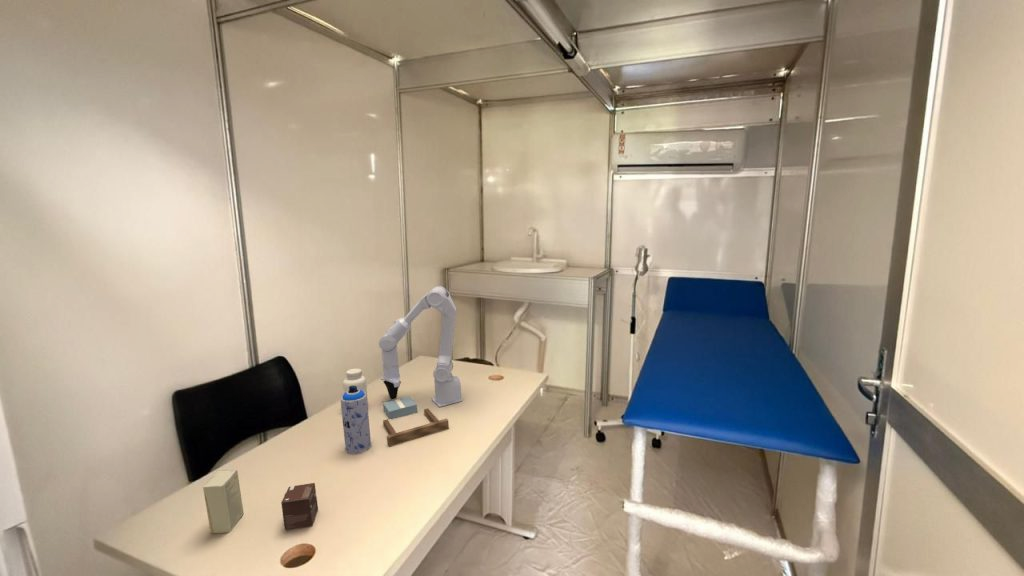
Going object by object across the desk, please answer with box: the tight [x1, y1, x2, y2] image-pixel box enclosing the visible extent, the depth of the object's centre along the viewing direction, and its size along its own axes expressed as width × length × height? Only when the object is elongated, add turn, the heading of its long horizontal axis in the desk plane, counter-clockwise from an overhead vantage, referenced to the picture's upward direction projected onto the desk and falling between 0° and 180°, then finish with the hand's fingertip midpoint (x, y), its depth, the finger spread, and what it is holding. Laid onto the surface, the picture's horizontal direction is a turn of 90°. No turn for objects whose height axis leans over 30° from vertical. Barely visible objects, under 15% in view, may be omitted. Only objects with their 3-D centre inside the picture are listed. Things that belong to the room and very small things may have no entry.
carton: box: [382, 396, 418, 420], centre depth 152 cm, size 10×8×4 cm
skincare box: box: [202, 469, 244, 534], centre depth 97 cm, size 6×4×12 cm
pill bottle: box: [342, 368, 369, 405], centre depth 153 cm, size 8×8×15 cm
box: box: [281, 482, 319, 531], centre depth 98 cm, size 6×6×7 cm
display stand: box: [382, 407, 450, 447], centre depth 140 cm, size 20×14×3 cm
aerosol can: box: [340, 386, 373, 455], centre depth 127 cm, size 8×8×20 cm
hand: (393, 398), depth 159 cm, fingers closed
